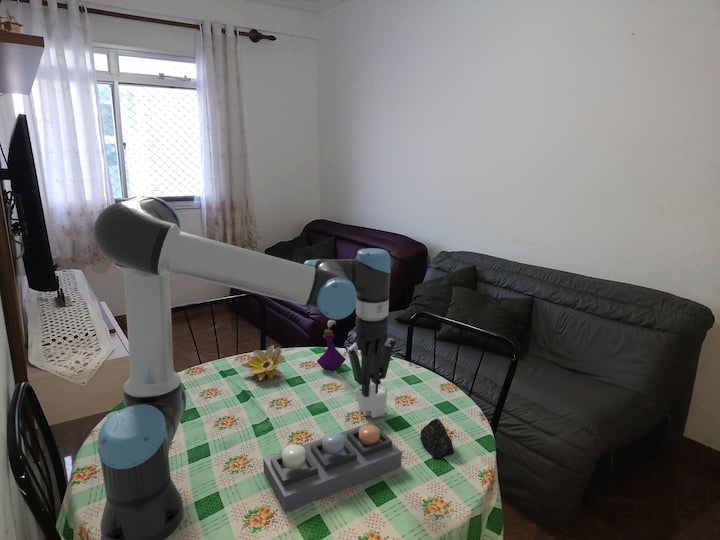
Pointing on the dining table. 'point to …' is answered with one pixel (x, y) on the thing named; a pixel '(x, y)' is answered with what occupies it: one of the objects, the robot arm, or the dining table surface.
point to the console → (329, 469)
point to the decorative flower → (265, 362)
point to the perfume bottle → (330, 352)
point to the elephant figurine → (379, 402)
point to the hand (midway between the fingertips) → (369, 406)
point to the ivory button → (293, 456)
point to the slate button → (333, 443)
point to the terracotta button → (369, 435)
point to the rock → (436, 439)
